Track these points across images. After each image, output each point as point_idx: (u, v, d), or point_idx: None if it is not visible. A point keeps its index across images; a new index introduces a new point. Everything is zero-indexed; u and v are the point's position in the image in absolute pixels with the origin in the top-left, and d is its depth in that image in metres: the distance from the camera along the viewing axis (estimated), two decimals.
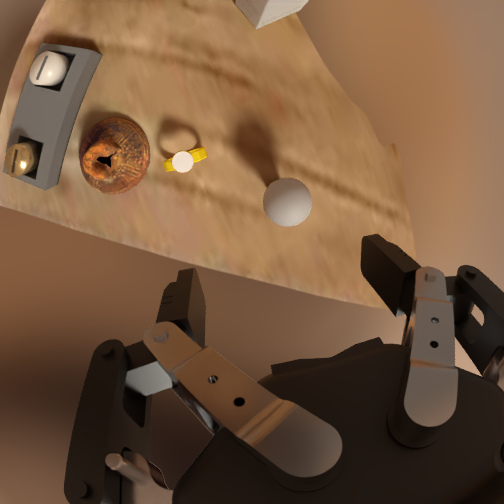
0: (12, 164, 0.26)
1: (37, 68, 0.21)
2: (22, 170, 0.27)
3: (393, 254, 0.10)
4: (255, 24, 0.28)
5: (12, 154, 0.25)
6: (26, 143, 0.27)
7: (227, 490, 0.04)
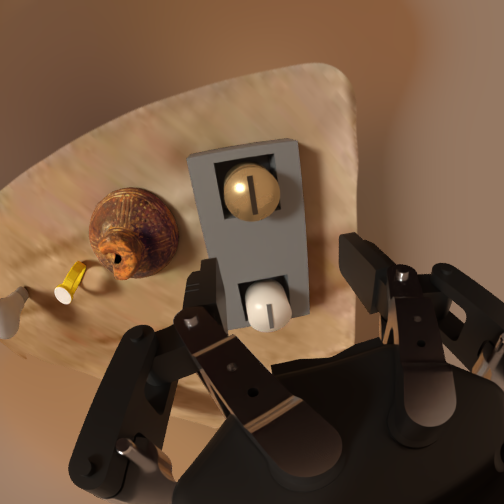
0: (256, 186, 0.24)
1: (277, 313, 0.30)
2: (227, 189, 0.23)
3: (367, 252, 0.11)
4: None
5: (263, 202, 0.24)
6: None
7: (227, 490, 0.04)
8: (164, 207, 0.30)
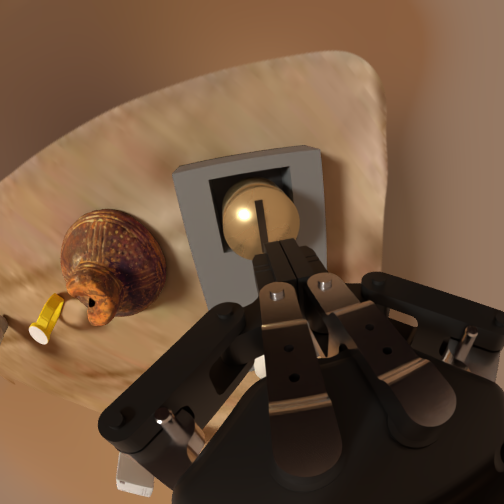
0: (267, 215, 0.17)
1: None
2: (226, 219, 0.17)
3: (297, 259, 0.11)
4: None
5: (276, 235, 0.18)
6: None
7: (227, 490, 0.04)
8: (146, 234, 0.23)
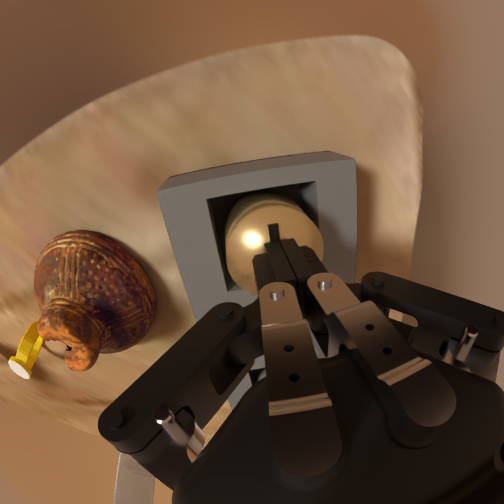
0: None
1: None
2: (231, 248, 0.13)
3: (297, 259, 0.11)
4: None
5: None
6: None
7: (227, 490, 0.04)
8: (130, 262, 0.19)
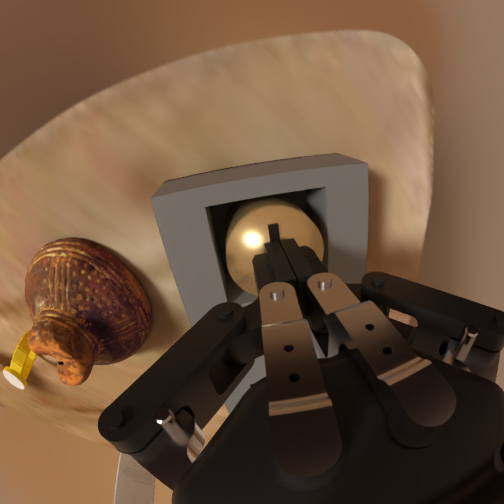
0: None
1: None
2: (231, 248, 0.13)
3: (297, 259, 0.11)
4: None
5: None
6: None
7: (227, 490, 0.04)
8: (123, 272, 0.17)
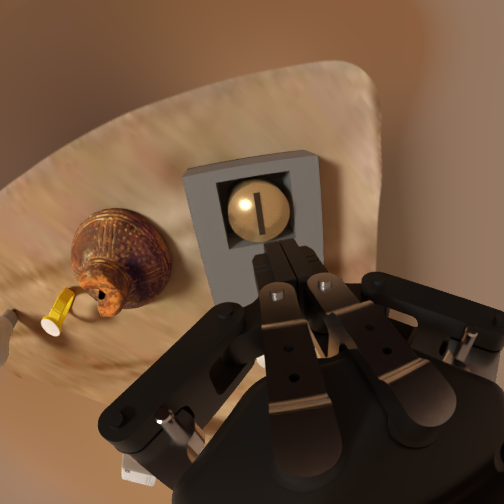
0: (264, 204, 0.22)
1: None
2: (231, 208, 0.21)
3: (297, 259, 0.11)
4: None
5: (271, 221, 0.22)
6: None
7: (227, 490, 0.04)
8: (153, 232, 0.25)
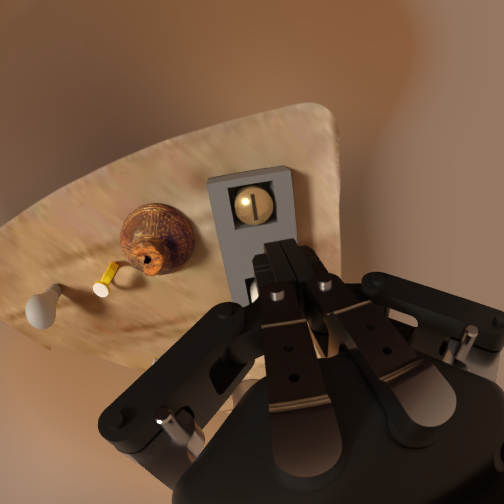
0: (257, 201, 0.35)
1: None
2: (237, 203, 0.35)
3: (297, 259, 0.11)
4: None
5: (261, 211, 0.36)
6: None
7: (227, 490, 0.04)
8: (183, 219, 0.39)
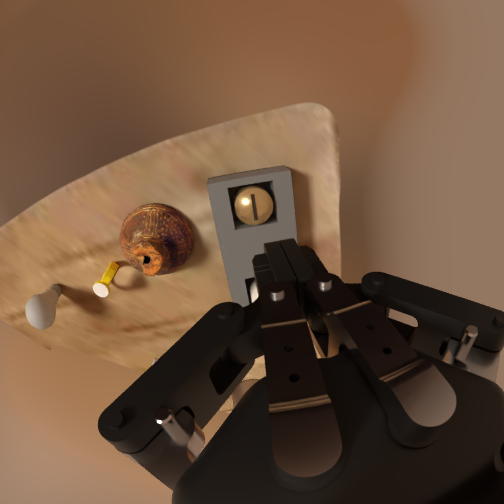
0: (257, 201, 0.35)
1: None
2: (237, 203, 0.35)
3: (297, 259, 0.11)
4: None
5: (261, 211, 0.36)
6: None
7: (227, 490, 0.04)
8: (182, 219, 0.39)
